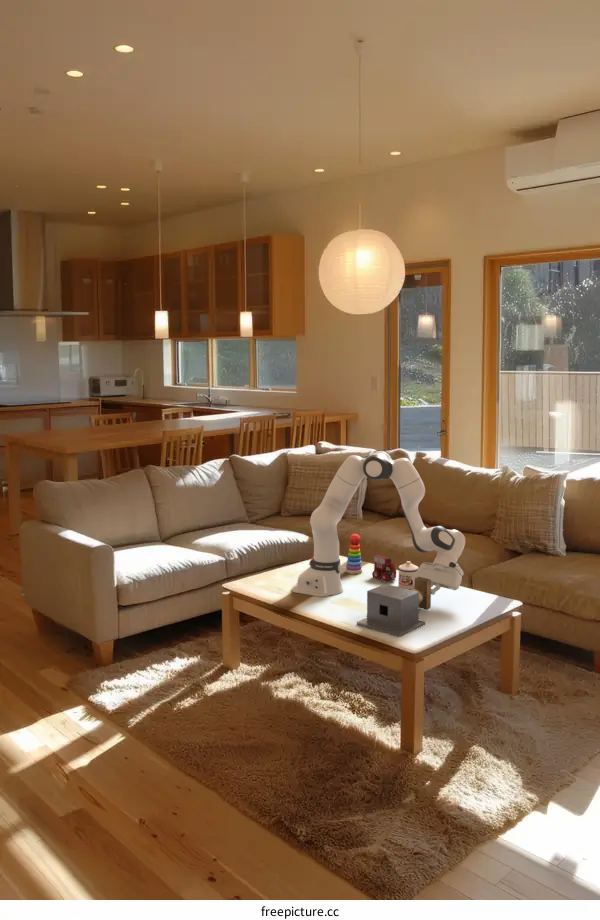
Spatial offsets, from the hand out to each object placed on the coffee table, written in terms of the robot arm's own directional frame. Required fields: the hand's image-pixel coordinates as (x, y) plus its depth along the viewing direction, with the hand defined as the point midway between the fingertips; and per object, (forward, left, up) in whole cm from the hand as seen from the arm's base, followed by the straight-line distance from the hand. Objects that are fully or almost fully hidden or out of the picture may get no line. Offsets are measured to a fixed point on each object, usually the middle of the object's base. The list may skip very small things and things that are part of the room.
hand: (430, 593), depth 336 cm
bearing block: (-11, -24, -6) cm, 27 cm away
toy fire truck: (-26, +33, -6) cm, 43 cm away
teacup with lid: (-12, +24, -6) cm, 28 cm away
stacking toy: (-42, +39, -6) cm, 58 cm away
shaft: (-6, -13, -4) cm, 15 cm away
